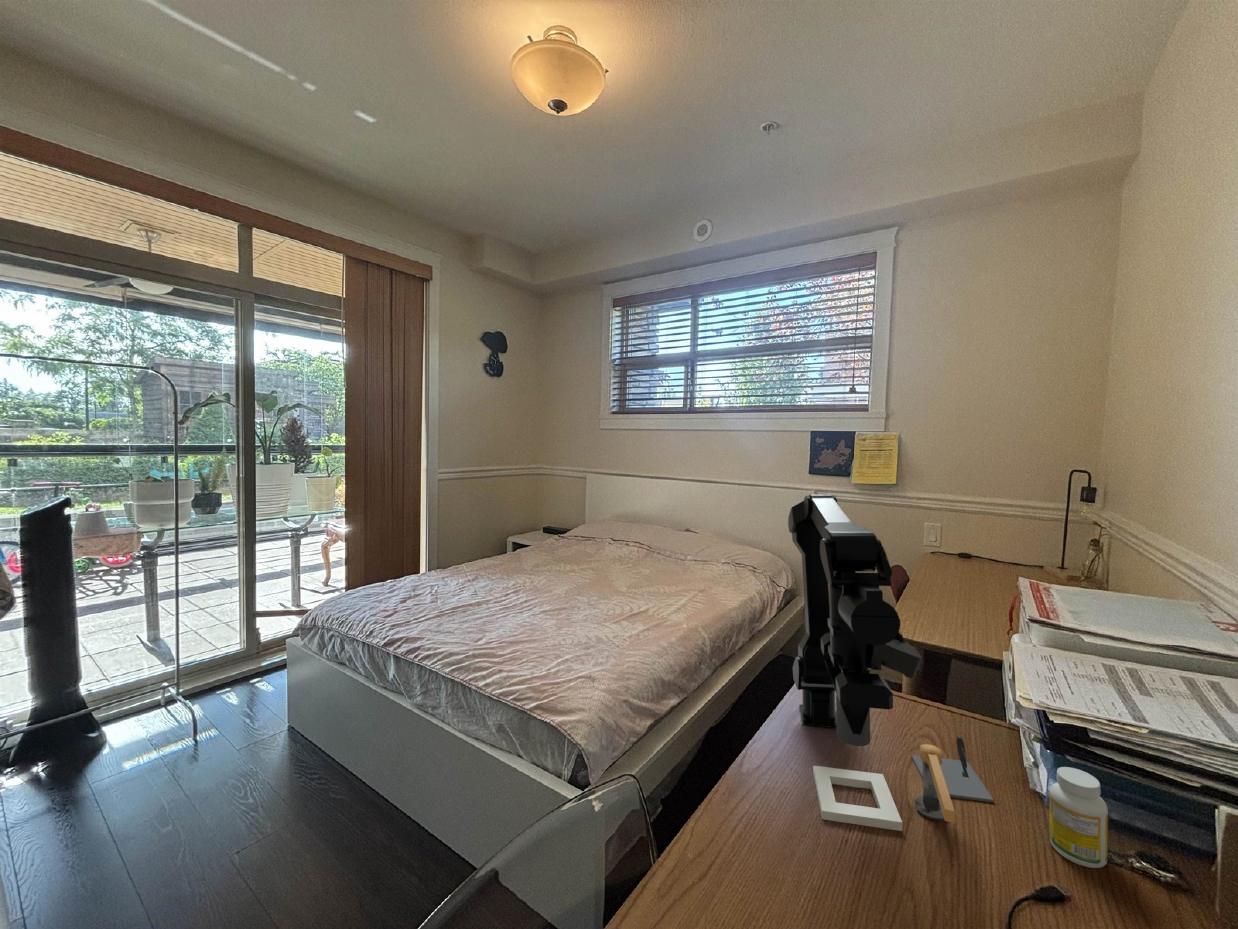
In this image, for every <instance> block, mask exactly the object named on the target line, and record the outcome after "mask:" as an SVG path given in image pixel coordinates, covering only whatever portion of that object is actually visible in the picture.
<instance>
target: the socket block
mask: <svg viewBox="0 0 1238 929" xmlns="http://www.w3.org/2000/svg"><path fill="white" fill-rule="evenodd" d="M812 774H813V779H814V784H815V789H816V794H817V800H818V804H819V810H820V815H821V819H822V820H826V821H833V822H839V823H845V824H853V825H859V826H866V827H872V828H879V829H885V830H891V831H892V830H893V831H897V832H898V831H900V832H903V820H902V818H901V816H900V814H899V811H898V809H897V806H896V804H895V801H894V799H893V796H892V794H891V790H890V789H889V786H888V784H887V781H886V778H885V776H884V774H883V773H876V772H868V771H867V772H866V771H861V770H851V769H845V768H844V769H843V768H834V767H828V766H820V765H813V766H812ZM833 785H837V786H844V787H852V788H859V789H868V790H871V793H872V796H873V798H874V802H875V804H876V806H877V807H871V806H864V805H857V804H856V805H855V804H849V803H842V802H836V801H837V800H836V798H835V793H834V790H833Z"/></svg>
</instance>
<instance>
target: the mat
mask: <svg viewBox="0 0 1238 929" xmlns="http://www.w3.org/2000/svg"><path fill="white" fill-rule="evenodd" d="M910 758H911V759H912V761H913V764H914V766H915V767H916V768H917V771H918V772H919V775H920V777H921V779H922V780H923V761H922V760H921V758H920V755H916V754H911V756H910ZM940 767H941V770H942V773H943V777H944V780H945V783H946V786H947V789H948V792H949V795H950V798H954V799H955V798H956V799H963V800H970V801H979V802H985V803H986V802H987V803H995V802H994V801H995V800H994V798H993V796H992V795H991V794H990V792H989V791H988V789H987V788H986V787H985V785H984V784H983V782H982V781H981V779H980V778H979V776H978V775H977V773H976V772H975V770H974V769H973V767H972V766H971V765H970V763H969V762H968V761H967V768H966V770H967V774H968V777H969V778H968V779H969V781H967V777H963V775H962V772H964V770H963V767H962V764H961V760H960V759H951V758H943V757H942V764H941V765H940ZM964 775H965V774H964ZM964 779H965V780H964Z"/></svg>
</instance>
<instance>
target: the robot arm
mask: <svg viewBox="0 0 1238 929" xmlns="http://www.w3.org/2000/svg"><path fill="white" fill-rule="evenodd" d="M787 521H788V522H787V523H788V525H787V526H788V531H789V533H790V534H791V537H792V538H791V540H792V543H793V544H794V545H795V547H796V548H797V550H798V551H799V553H800V555H801V564H802V567H801V568H802V584H803V603H804V616H805V618H804V619H805V622H804V623H805V633H804V634H803V636H802V638H801V639H800V642H799V643H798V646H797V656H795V658H794V662H793V664H792V676H793V677H792V678H793V682H794V684H795V686H796V689H797V690H798V691H801V690H802V704H801V703H800V704H799V713H801V714H800V719H801V723H802V724H803V725H808V726H816V727H827V728H834V729H835V728H836V729H837V717H836V694H837V697H838V699H839V702H840V704H841V706H842V709H843V711H844V714H845V716H846V719H847V721H848V723H849V726H850V728H851V731H852V733H853V734H857V735H860V734H861V733H862V730H863V727H864V724H865V720H866V717H867V714H868V711H869V709H870V710H871V709H877V710H878V709H879V710H880V709H881V710H892V709H893V708H894V694H893V690H891V687H890V686H889V684H888V682H887V680H885V679H884V678H883V677H882V676H881V675H880V674H879V673H870V672H871V670H872V671H882V666H883V667H884V668H888V669H890V670H893V671H895V672H898V673H900V674H903V675H904V677H906V678H909V679H914V678H915V675H916V674H917V670H918V669H919V666H920V663H921V661H922V659H923V657H922V655H920V653H919V652H918V650H917V649H916V648H915V647H913V646H912V645H911V644H909V643H908V642H907V641H906V642H905V641H904V636H903V634H902V632H900V630H901V619H900V617H899V614H898V611H897V610H896V609H895V607H894V606H892V605H891V604H890V603H889V602H888V601H886V600H885V599H884V598H883V597H884V596H883V595H884V594H883V590H882V589H881V588H880V587H891V586H892V580H891V578H892V576H893V571H892V568H891V567H892V566H891V565H890V562H889V559H888V555H887V553H886V550H885V547H884V546H883V544H882V542H881V540H880V539H879V538H878V537H877V535H876V534H875V533H874V532H873V531H872V530H871V529H870V528H868V527H866V526H865V525H864V526H863V525H859V524H854V523H852V521H851V520H850V519H849V517H848V516H847V515H846V513H845V512H844V510H843V509H842V508H841V506H840V505H839V503H838V499H837V496H836V495H832V494H831V493H830V494H829V493H821V494H820V493H819V494H817V493H816V494H815V493H814V494H813V493H810V494H809V495H805V496H804V499H803V501H800V502H799V503H797V504H795V505H794V506H792V507H791V508H790V511H789V514H788V519H787ZM875 571H876V572H875Z"/></svg>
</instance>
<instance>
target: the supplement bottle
mask: <svg viewBox="0 0 1238 929" xmlns="http://www.w3.org/2000/svg"><path fill="white" fill-rule="evenodd" d="M1100 795H1101V783H1100V781H1099V780H1098V779H1097V778H1096V777H1095V776H1093V775H1092V774H1090V773H1088V772H1086V771H1083V770H1081V769H1078V768H1075V767H1069V766H1060V767H1058V768H1057V770H1056V782H1055V783H1053V784H1051V786H1050V789H1049V841H1050V844H1051V846H1052V847H1053V848H1054V850H1055V851H1056V852H1057V853H1058V854H1060V855H1061V856H1062V857H1064V858H1065V859H1066V860H1068V861H1070V862H1073V863H1074V864H1076V865H1079V866H1082V867H1086V868H1089V869H1091V868H1092V869H1100V868H1103V867H1105V866H1106V865H1107V864H1108V829H1109V828H1108V826H1109V825H1108V822H1109V821H1108V820H1109V810H1108V806H1107V804H1106V802H1105V800H1104V799H1103V798H1102V797H1101V796H1100Z"/></svg>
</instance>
